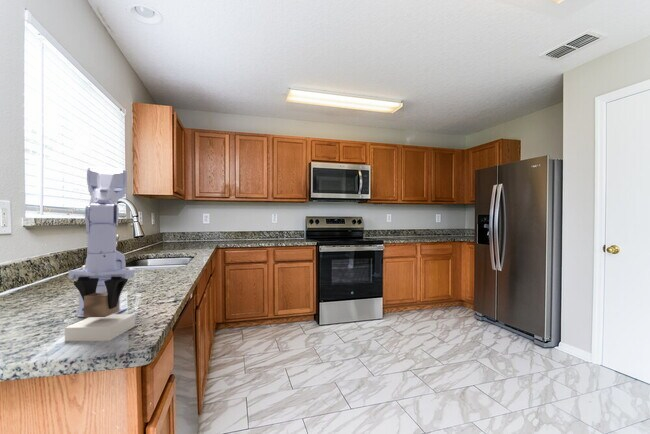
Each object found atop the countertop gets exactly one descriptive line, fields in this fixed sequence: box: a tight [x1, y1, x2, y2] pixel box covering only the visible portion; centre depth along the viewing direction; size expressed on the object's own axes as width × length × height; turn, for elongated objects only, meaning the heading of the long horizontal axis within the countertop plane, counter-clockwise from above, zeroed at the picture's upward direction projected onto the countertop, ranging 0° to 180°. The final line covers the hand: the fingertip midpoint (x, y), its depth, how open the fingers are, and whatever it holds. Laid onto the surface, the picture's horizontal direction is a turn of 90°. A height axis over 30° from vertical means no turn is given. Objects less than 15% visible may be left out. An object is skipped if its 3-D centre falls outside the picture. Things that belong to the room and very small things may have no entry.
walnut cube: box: [83, 291, 119, 318], centre depth 74 cm, size 5×5×5 cm
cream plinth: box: [64, 313, 136, 342], centre depth 74 cm, size 10×10×4 cm
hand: (101, 307), depth 74 cm, fingers closed on walnut cube, 5 cm apart
